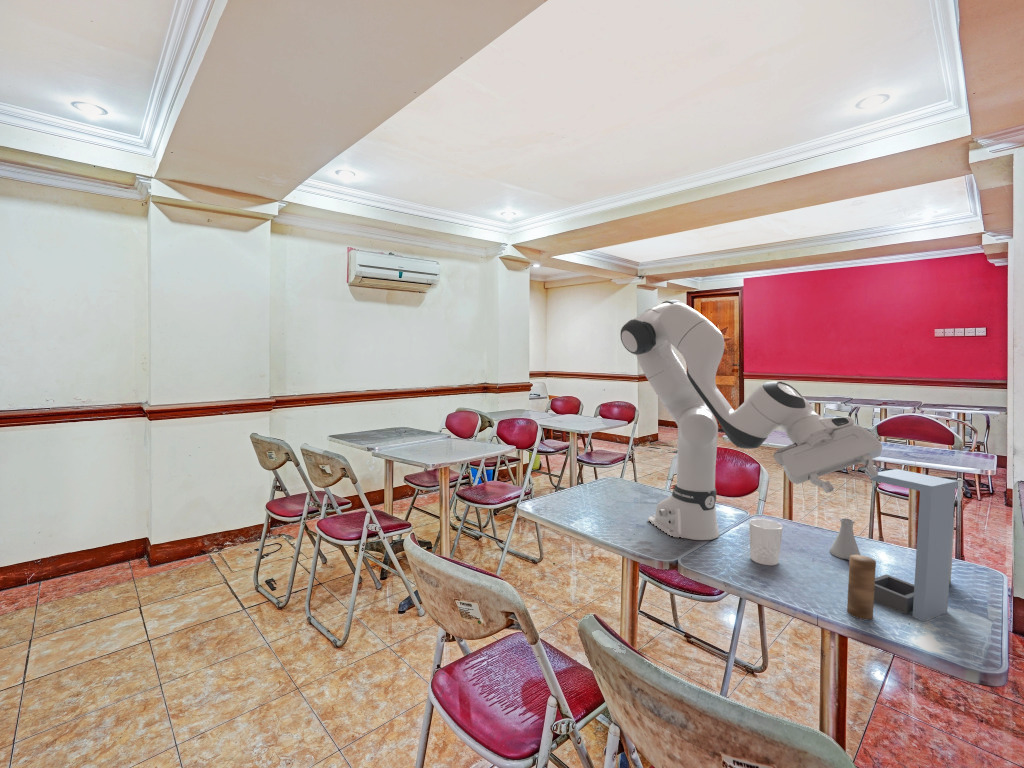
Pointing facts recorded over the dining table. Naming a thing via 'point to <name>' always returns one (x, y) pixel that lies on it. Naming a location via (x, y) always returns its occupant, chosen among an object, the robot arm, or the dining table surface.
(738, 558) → the dining table surface
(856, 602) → the peg
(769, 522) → the white cup
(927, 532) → the awning
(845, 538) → the flask
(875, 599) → the socket
